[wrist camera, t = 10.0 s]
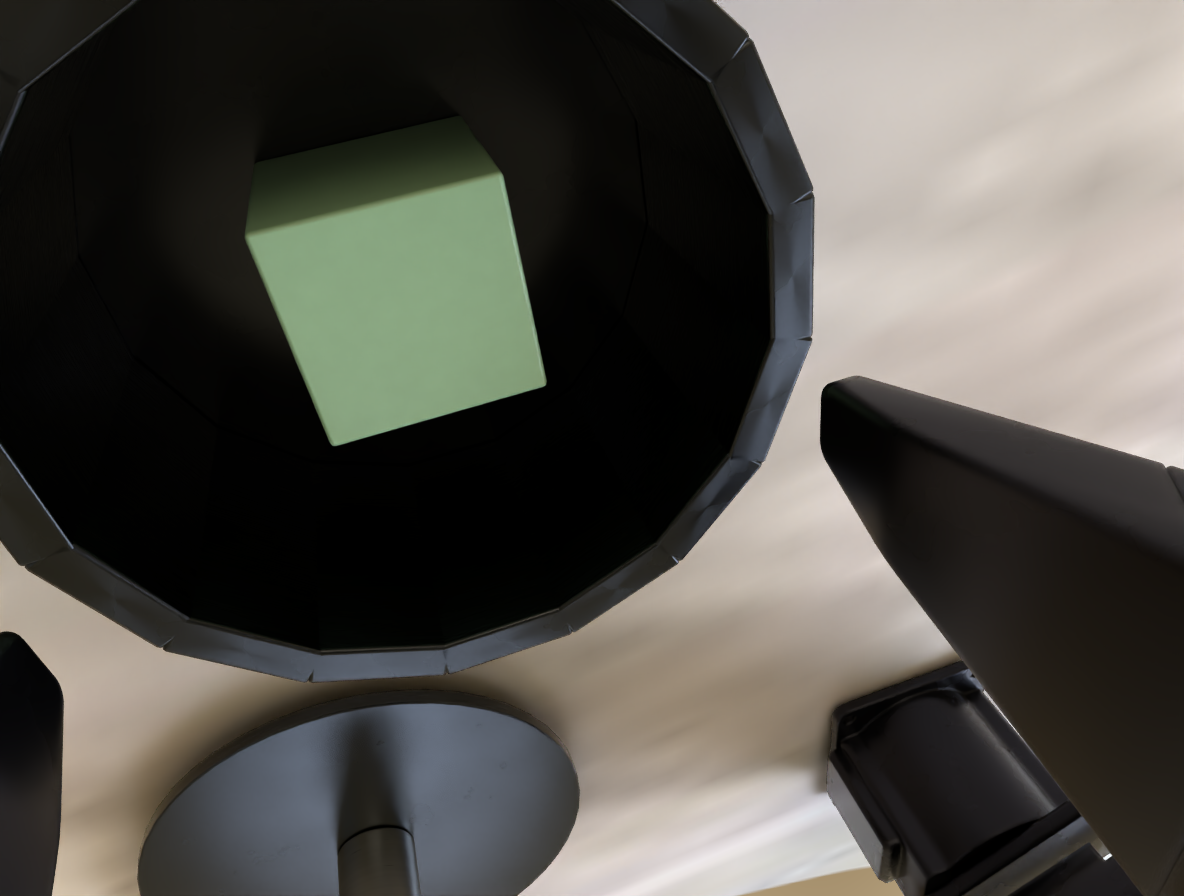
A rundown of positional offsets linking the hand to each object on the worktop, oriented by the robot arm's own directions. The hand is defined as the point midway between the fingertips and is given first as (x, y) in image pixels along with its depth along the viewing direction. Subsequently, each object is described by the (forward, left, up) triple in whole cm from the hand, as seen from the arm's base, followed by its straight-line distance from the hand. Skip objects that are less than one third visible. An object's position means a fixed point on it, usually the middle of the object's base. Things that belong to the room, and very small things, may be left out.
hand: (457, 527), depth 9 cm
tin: (0, 0, -10) cm, 10 cm away
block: (0, 0, -10) cm, 10 cm away
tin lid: (+6, +19, -10) cm, 22 cm away
